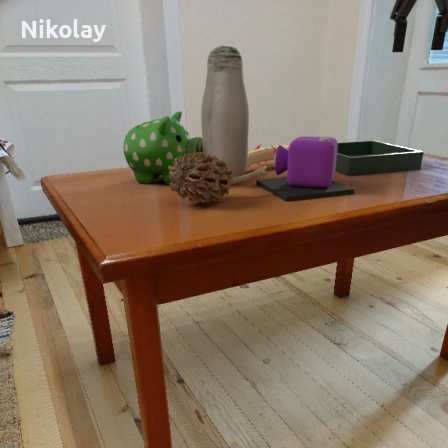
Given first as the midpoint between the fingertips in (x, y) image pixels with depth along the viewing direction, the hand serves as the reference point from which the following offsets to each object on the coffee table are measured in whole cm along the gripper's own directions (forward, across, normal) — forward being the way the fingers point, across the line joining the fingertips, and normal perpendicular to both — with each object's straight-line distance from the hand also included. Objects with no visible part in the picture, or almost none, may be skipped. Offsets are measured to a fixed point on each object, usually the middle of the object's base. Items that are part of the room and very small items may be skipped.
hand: (415, 51), depth 105 cm
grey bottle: (+27, +1, -49) cm, 56 cm away
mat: (+27, +13, -35) cm, 46 cm away
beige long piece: (+27, -11, -35) cm, 45 cm away
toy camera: (+26, +13, -35) cm, 45 cm away
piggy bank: (+27, -7, -62) cm, 68 cm away
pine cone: (+27, +15, -55) cm, 63 cm away
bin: (+27, -5, -8) cm, 28 cm away
